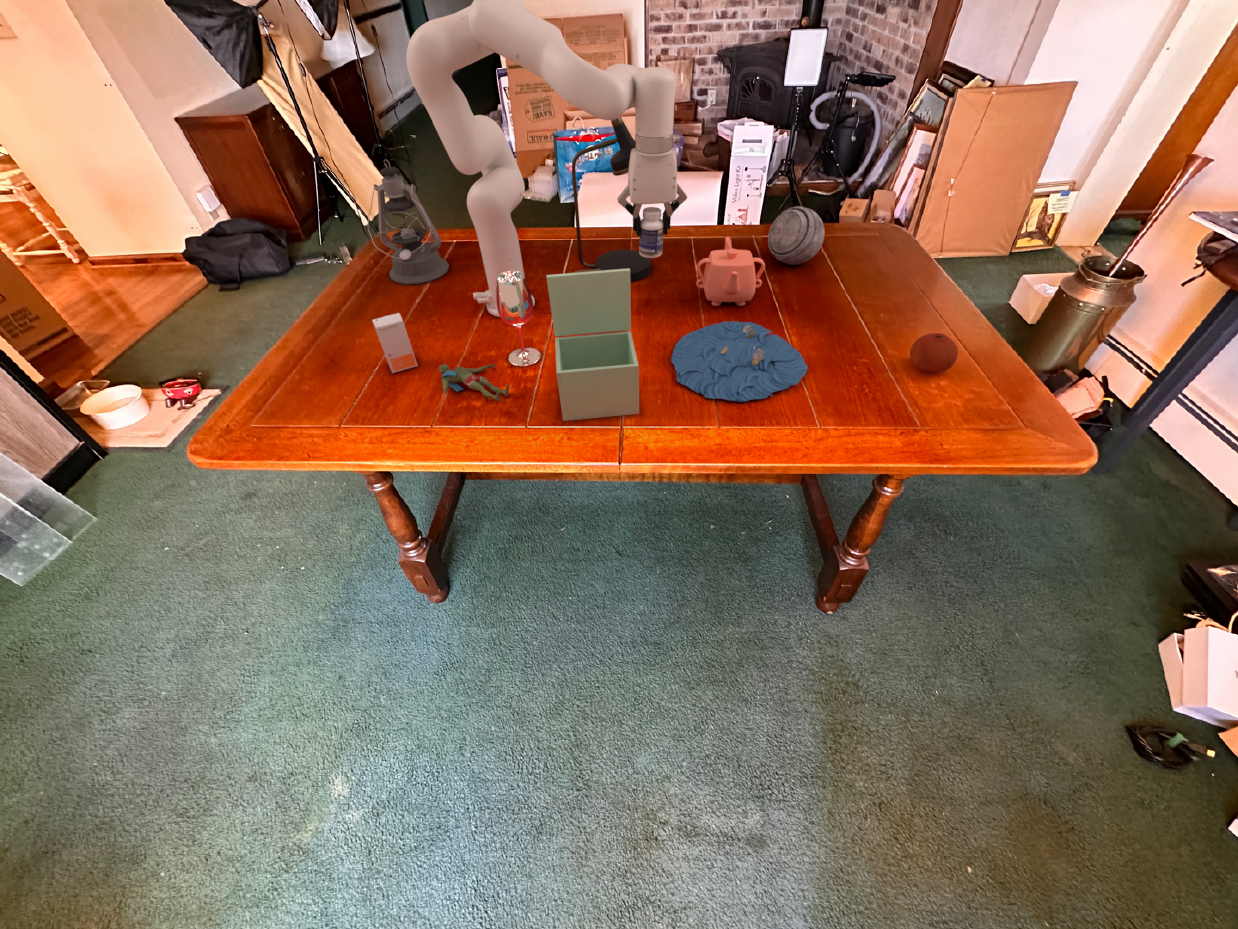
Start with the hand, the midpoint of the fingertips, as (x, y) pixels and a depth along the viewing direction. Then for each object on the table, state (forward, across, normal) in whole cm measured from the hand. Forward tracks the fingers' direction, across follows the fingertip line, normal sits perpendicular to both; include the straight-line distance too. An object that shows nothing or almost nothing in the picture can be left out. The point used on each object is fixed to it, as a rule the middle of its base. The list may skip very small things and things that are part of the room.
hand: (651, 232), depth 125 cm
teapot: (+22, -22, -8) cm, 32 cm away
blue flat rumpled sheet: (+21, -17, +22) cm, 35 cm away
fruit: (+21, -57, +30) cm, 68 cm away
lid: (+3, +15, +25) cm, 29 cm away
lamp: (+22, +5, -29) cm, 37 cm away
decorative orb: (+21, -45, -25) cm, 55 cm away
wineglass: (+23, +31, +12) cm, 40 cm away
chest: (+22, +15, +30) cm, 40 cm away
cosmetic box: (+23, +59, +11) cm, 64 cm away
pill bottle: (+5, 0, 0) cm, 5 cm away
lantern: (+24, +63, -37) cm, 77 cm away
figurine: (+23, +42, +22) cm, 53 cm away
